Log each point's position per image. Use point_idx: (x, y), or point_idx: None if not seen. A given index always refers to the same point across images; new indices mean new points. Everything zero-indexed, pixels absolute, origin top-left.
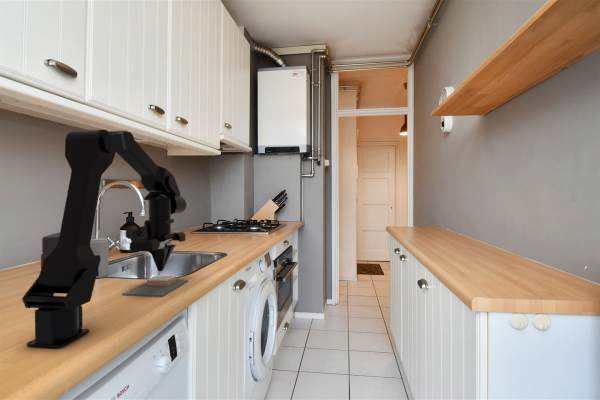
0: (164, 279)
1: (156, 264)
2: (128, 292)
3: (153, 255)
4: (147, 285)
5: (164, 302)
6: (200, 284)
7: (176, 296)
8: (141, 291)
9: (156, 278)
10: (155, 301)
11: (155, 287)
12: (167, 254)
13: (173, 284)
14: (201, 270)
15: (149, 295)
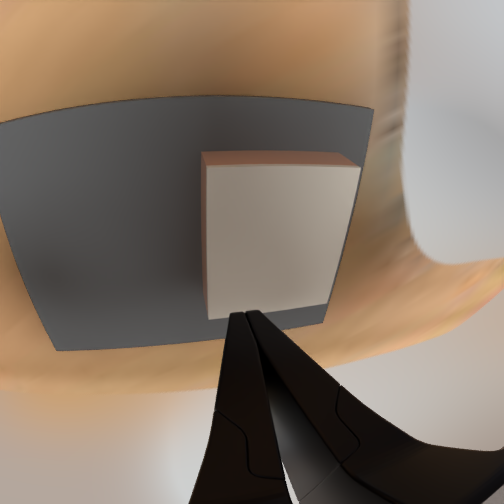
0: (225, 296)
1: (222, 371)
2: (8, 151)
3: (207, 483)
4: (192, 161)
5: (21, 374)
6: None
7: (88, 380)
8: (52, 220)
9: (248, 227)
10: (8, 347)
11: (153, 250)
12: (293, 488)
13: None
14: (482, 262)
15: (32, 296)
